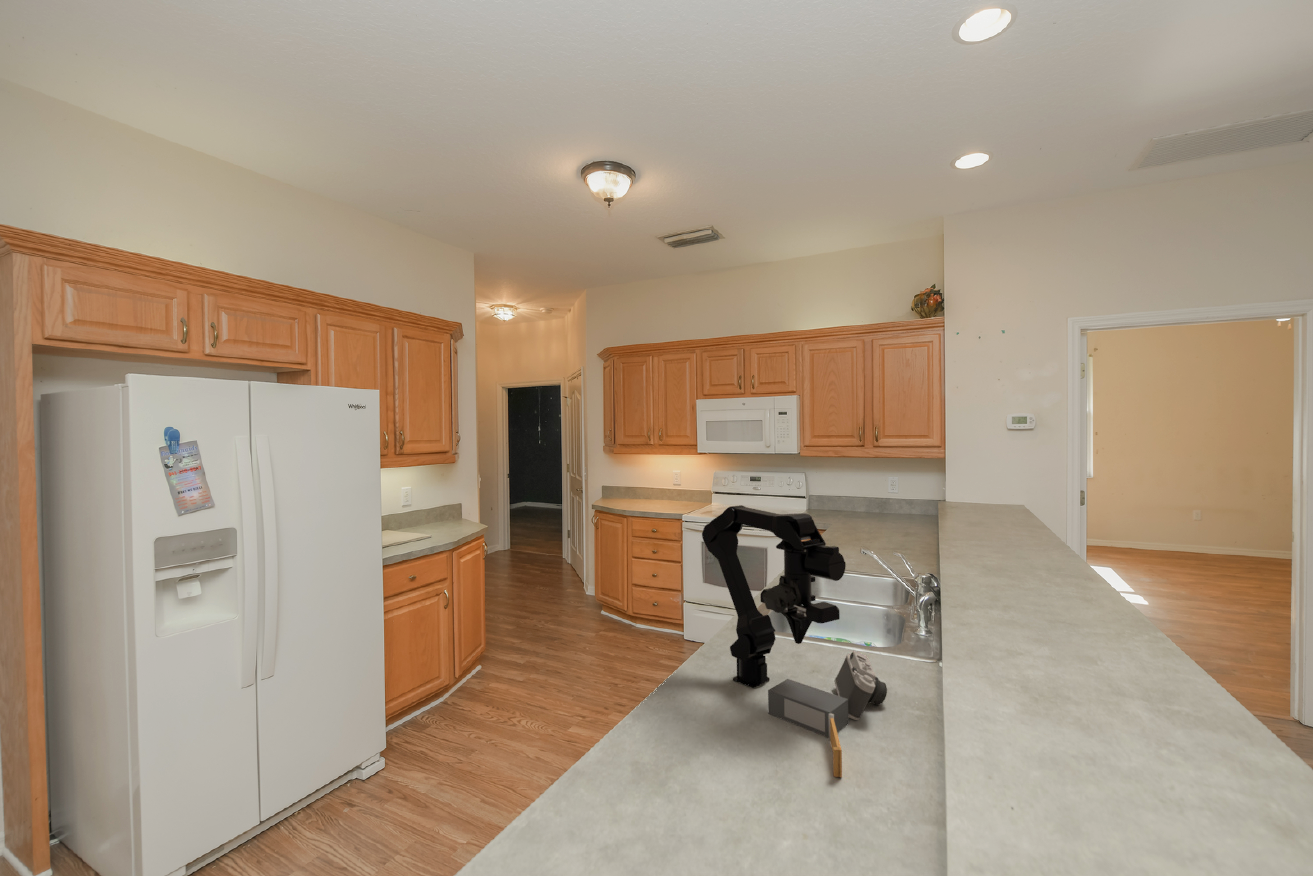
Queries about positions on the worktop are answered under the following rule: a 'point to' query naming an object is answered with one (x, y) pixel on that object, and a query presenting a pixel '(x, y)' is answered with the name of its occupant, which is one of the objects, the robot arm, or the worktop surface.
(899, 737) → the worktop surface
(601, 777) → the worktop surface
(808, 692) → the case
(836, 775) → the brown rectangular block
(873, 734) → the worktop surface
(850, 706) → the camera
